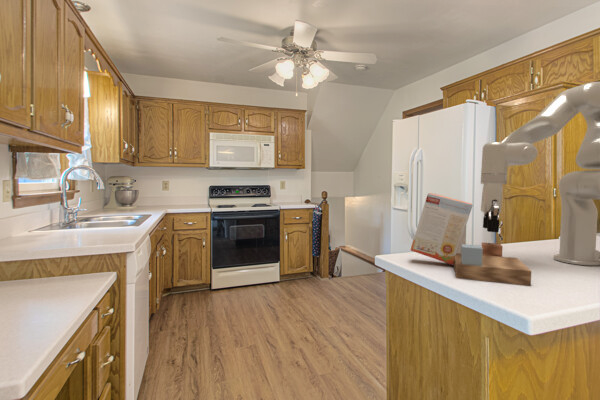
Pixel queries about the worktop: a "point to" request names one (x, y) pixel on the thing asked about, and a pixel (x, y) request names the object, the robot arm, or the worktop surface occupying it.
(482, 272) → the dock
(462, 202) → the cracker box
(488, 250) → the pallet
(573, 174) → the robot arm
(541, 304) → the worktop surface
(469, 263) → the grey-blue cube
